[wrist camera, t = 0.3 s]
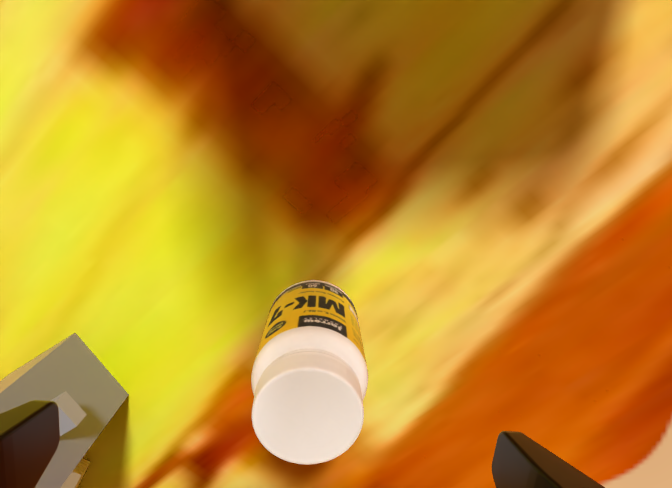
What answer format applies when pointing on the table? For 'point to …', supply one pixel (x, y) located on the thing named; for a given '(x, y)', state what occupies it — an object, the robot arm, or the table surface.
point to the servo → (66, 400)
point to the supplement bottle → (309, 375)
